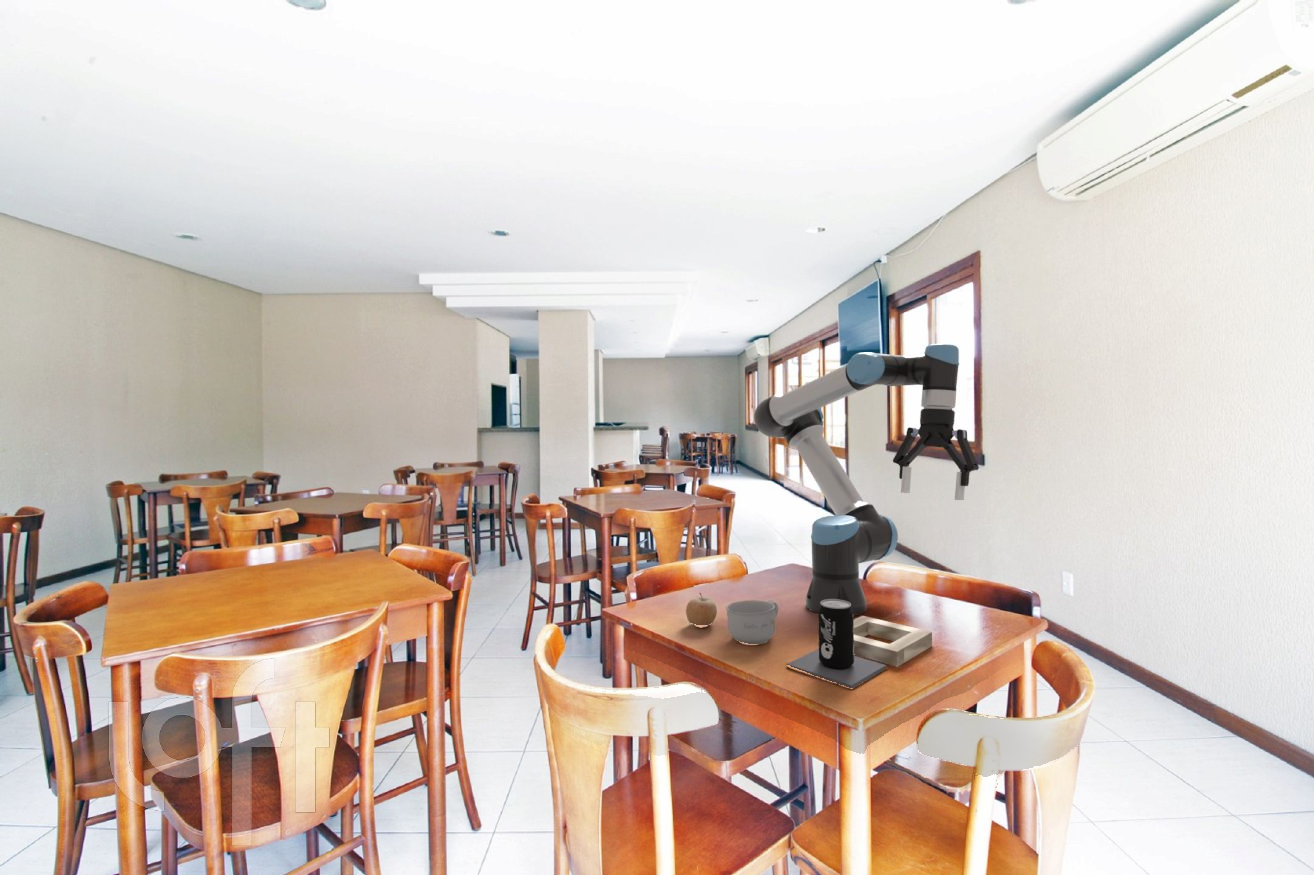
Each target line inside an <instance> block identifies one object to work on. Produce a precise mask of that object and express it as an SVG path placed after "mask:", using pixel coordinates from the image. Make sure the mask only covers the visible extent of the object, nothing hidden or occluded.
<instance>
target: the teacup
mask: <svg viewBox="0 0 1314 875" xmlns="http://www.w3.org/2000/svg"><path fill="white" fill-rule="evenodd" d="M725 610H726V617H727V627H728V631H729V634H730V636H731V638H732V639H734V640H736V641H737V640H738V641H740V642H744V643H748V644H761V645H763V644H762V643H764V644H766V643H768V642H769V640H770V639H771V638H772V637H774V635H775V633H776V617H777V615H778V613H779V605H778V603H777V602H776V601H774V600H768V601H766V600H764V601H763V600H742V601H741V600H740V601H733V602H731V603H729V604H727V605H726V608H725ZM765 642H766V643H765Z"/></svg>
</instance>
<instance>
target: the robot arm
mask: <svg viewBox="0 0 1314 875" xmlns="http://www.w3.org/2000/svg"><path fill="white" fill-rule="evenodd" d="M924 350H925V351H924V353H923V354H916V355H915V354H914V355H898V354H897V355H896V354H886V353H877V352H876V353H875V352H871V351H869V352H868V351H867V352H858V353H856V354H854V355H852V356H851V358H850V359H849V360H848V362H847V364H845V365H842V366H841V367H839V368H837V369H835V370H833V371H830V372H828V373H826V374H824V375H822V376H819V377H818V378H815V379H814V380H811V381H809V382H807V383H805V384H803V385H801V386H798V387H797V388H795V389H793V390H790V391H788V392H786V393H776V394H774V395H771V396H770V397H768V398H766V399H764V400H761V402H760V403H759V404H757V406H756V408H755V410H754V414H753V419H754V421H753V422H754V424H755V427H756V428H757V430H758V431H759V432H760V433H761V434H762V435H765V436H766V437H770V438H784V440H785V441H786V443H787V444H788V447H789V448H790V450H791V449H792V450H796V451H797V452H798V454H799V455H800V457H801V459H802V460H803V462H804V464H805V465H806V466H805V467H807V469H808V471H809V473H810V474H811V476H812V478H813V479H814V481H815V482H816V484H817V486H818V487H819V489H820V490H821V492H822V493H821V494H822V495H823V496H824V497H825V499H826V501H827V503H828V505H829V507H830V508H831V509H832V511H833V513H834V515H828V516H822V517H820V518H818V519H816V520H815V521H814V522H813V523H812V526H811V536H810V537H811V564H812V565H811V567H812V569H811V573H812V578H811V581H810V583H809V587H808V590H807V593H806V596H805V607H806V606H807V607H806V608H807V609H808V608H809V609H811V610H812V611H811V610H810V611H811V612H814V611H815V612H814V613H817V614H818V609H819V607H820V606H821V604H820V602H821V601H822V600H826V599H839V600H844V601H848V602H849V603H851V609H852V610H853V616H858V615H861V614H865V612H867V598H866V596H865V593H864V590H863V588H862V584H861V581H860V573H859V572H860V571H859V569H860V568H859V566H860V565H859V564H862V563H863V564H864V563H867V562H872V561H878V560H882V559H883V558H886V557H888V556H890V555H891V554H892V553H893V552H894V551H895V549H896V548H897V545H898V539H899V535H898V533H899V532H898V528H897V527H896V524H895V523H894V522H893V521H892V519H891V518H889V517H888V516H885V515H883V514H879V512H878V511H877V510H876V507H874V505H873V504H872V503H870V502H866V501H864V499H863V498H862V496H861V495H860V493H859V491H858V490H857V488H856V487H855V485H854V483H853V481H851V479H850V476H849V475H848V474H847V472H846V471H845V469H844V467H843V466H842V464H841V462H840V461H839V460H838V458H837V457H836V454H835V453H834V451H833V450H832V449H831V447H830V445H829V443H828V442H827V440H826V439H825V437H824V436H823V435H824V432H825V427H824V423H825V422H824V420H823V419H824V413H823V411H822V409H821V408H823V407H825V406H828V405H830V404H832V403H835V402H837V401H840V400H841V399H844V398H847V397H849V396H851V395H854V394H856V393H858V392H860V391H863V390H865V389H868V388H871V387H873V386H875V385H882V386H887V387H889V386H890V387H899V386H916V385H917V386H922V389H921V390H922V391H921V392H922V393H921V400H920V401H921V404H920V406H921V407H922V409H921V410H920V414H919V415H920V416H919V417H920V418H919V423H920V427H919V429H918V428H916V427H907V429H906V434H905V437H904V439H903V440H902V443H901V444H900V445H899V448H898V450H897V452H896V453H895V455H894V457H893V459H892V462H893V463H894V464H897V465H898V466H899V475H898V476H899V477H898V478H899V479H900V480H901V485H900V486H901V487H900V493H902V494H908V493H909V494H910V492H911V491H910V490H911V478H912V466H910V465H911V463H912V462H913V461H914V460H915V459H916V458H918V456H919V454H920V453H921V452H923V451H924V449H927V447H930V448H943V449H944V450H945V451H946V453H948V455H949V457H950V458H951V459H952V461H953V462H954V463H955V465H956V466H957V468H958V469H959V471H956V478H955V489H954V490H955V491H954V500H955V501H964V500H965V499H964V498H965V490H966V489H965V488H966V487H968V486H969V485H970V484H969V483H970V474H971V472H974V471H978V470H979V468H980V467H979V464H978V462H977V460H976V456H975V455H974V452H973V450H972V447H971V445H970V443H969V440H968V431H967V430H966V429H962V428H961V429H957V430H955V429H954V425H955V414H956V412H955V410H953V409H954V408H956V398H957V384H958V372H959V365H960V351H959V348H958V346H957V345H954V344H950V343H933V344H928V345H927V346H926V347H925V349H924ZM918 436H919V439H918V440H917V442H916V443H915V445H914V446H913V447H912V445H913V444H914V442H915V440H916V438H917V437H918ZM953 437H954V438H955V439H956V441H957V444H958V446H959V448H960V450H961V453H962V455H963V456H962V455H961V454H960V452H959V451H958V450H957V448H956V446H955V444H954V442H953V441H952V439H953ZM911 447H912V448H911ZM809 609H808V610H809Z"/></svg>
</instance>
